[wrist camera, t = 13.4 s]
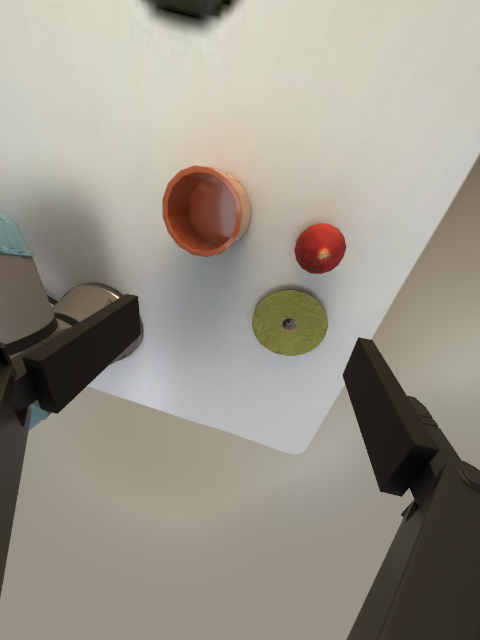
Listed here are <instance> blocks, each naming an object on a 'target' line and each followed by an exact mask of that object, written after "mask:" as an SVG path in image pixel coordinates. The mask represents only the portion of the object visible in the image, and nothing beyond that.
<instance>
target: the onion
mask: <svg viewBox="0 0 480 640" xmlns="http://www.w3.org/2000/svg"><path fill="white" fill-rule="evenodd" d="M345 250H346V244H345V239H344V236H343V235H342V233H341V232H340V231H339V229H337V228H335V227H333V226H332V225H329V224H316V225H313V226H310V227H308V228H307V229H306V230H305V231H304V232H302V233H301V235H300V237H299V238H298V240H297V242H296V246H295V256H296V260H297V262H298V263H299V265H300V266H301V268H302V269H304V270H306V271H308V272H309V273H313V274H322V273H325V272H328V271H331V270H332V269H334V268H335V267H336V266H338V265H339V263H340V261H341V260H342V258H343V257H344V253H345Z"/></svg>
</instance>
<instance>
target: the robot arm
mask: <svg viewBox="0 0 480 640" xmlns="http://www.w3.org/2000/svg"><path fill="white" fill-rule="evenodd" d="M32 256H34V255H33V252H31V251H30V250H29V248H28V246H27V244H26V241H25V239H24V237H23V235H22V233H21V231H20V228H19V226H18V225H17V223H16V222H15V221H14V220H13V219H12V218H11V217H10V216H8V215H7V214H5V213H3V212H0V595H1V590H2V584H3V578H4V572H5V566H6V560H7V554H8V548H9V542H10V537H11V531H12V525H13V519H14V513H15V507H16V501H17V495H18V489H19V484H20V478H21V472H22V466H23V460H24V454H25V448H26V442H27V436H28V431H29V430H31V429H32V428H33V427H34V426H36V425H37V424H38V423H39V422H40V421H42V420H45V419H46V418H47V417H48V416H49V415H50V414H51V413H52V412H53V413H59V412H60V411H61V410H62V409H63V408H64V407H65V406H66V405H67V404H68V403H69V402H70V401H72V400H73V399H74V398H75V397H76V396H77V395H78V394H79V393H80V392H81V391H82V390H83V389H84V388H85V387H86V386H87V385H88V384H89V383H91V382H92V381H93V380H94V379H95V378H96V377H97V376H98V375H99V374H100V373H101V372H102V371H103V370H104V369H105V368H106V367H107V366H108V365H110V364H112V363H114V362H116V361H119V360H122V359H124V358H126V357H128V356H129V355H131V354H132V353H133V352H134V351H135V350H136V349H137V348H138V347H139V345H140V343H141V341H142V337H143V328H142V323H141V320H140V316H139V303H138V296H134V295H129V294H125V295H124V296H123V295H122V294H120V293H119V292H118V291H116V290H114V289H113V288H111V287H108V286H106V285H103V284H99V283H85V284H82V285H79V286H77V287H74V288H72V289H71V290H69V291H68V292H67V293H66V294H65V295H64V296H63V297H62V298H61V300H60V301H59V302H58V301H56V300H55V299H53V298H51V297H50V296H48V295H47V294H46V292H45V289H44V286H43V284H42V281H41V279H40V276H39V273H38V271H37V268H36V266H35V263H34V260H33V258H32ZM50 303H51V304H53V305H54V306H53V307H51V305H50ZM343 378H344V381H345V384H346V388H347V390H348V393H349V397H350V400H351V403H352V406H353V409H354V412H355V415H356V418H357V421H358V424H359V428H360V430H361V433H362V437H363V440H364V443H365V446H366V449H367V452H368V455H369V458H370V461H371V465H372V467H373V471H374V474H375V477H376V480H377V483H378V486H379V489H380V492H385V493H389V494H393V495H397V496H401V497H402V496H403V494H404V493H405V492H406V491H407V490H408V488H410V490H411V492H412V494H413V497H414V500H413V502H412V503H411V504H410V505H409V506H408V507H407V508H406V509H405V511H404V512H403V513H402V514H401V515H402V516H403V517H404V518H403V520H402V523H401V525H400V527H399V529H398V531H397V534H396V535H395V537H394V540H393V542H392V544H391V546H390V548H389V550H388V552H387V555H386V557H385V559H384V561H383V563H382V566H381V567H380V570H379V572H378V574H377V576H376V578H375V580H374V583H373V585H372V587H371V589H370V591H369V593H368V595H367V597H366V599H365V602H364V604H363V606H362V608H361V610H360V612H359V614H358V617H357V619H356V621H355V623H354V625H353V627H352V630H351V631H350V634H349V636H348V638H347V640H480V470H478V469H477V468H476V467H474V466H472V465H470V464H468V463H467V462H464V461H461V459H460V458H459V456H458V455H457V453H456V452H455V450H454V449H453V447H452V446H451V444H450V443H449V441H448V440H447V438H446V437H445V435H444V434H443V432H442V431H441V429H439V428H438V425H437V423H436V422H435V421H434V420H433V419H432V416H431V415H430V413H429V412H428V410H427V409H426V407H425V406H424V405H423V404H422V403H420V402H419V401H418V400H417V399H416V398H415V397H411V396H407V395H406V394H405V392H404V391H403V389H402V387H401V386H400V384H399V382H398V381H397V379H396V378H395V376H394V375H393V373H392V371H391V369H390V368H389V366H388V365H387V363H386V361H385V360H384V358H383V356H382V355H381V353H380V352H379V350H378V348H377V347H376V345H375V344H374V342H373V340H369V339H364V338H359V337H358V340H357V342H356V344H355V347H354V349H353V351H352V354H351V356H350V359H349V361H348V363H347V366H346V368H345V371H344V373H343Z"/></svg>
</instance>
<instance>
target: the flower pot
mask: <svg viewBox="0 0 480 640" xmlns="http://www.w3.org/2000/svg"><path fill="white" fill-rule="evenodd" d="M250 218H251V205H250V200H249V197H248V194H247V192H246V190H245V189H244V187H243V186H242V185H241V183H240V182H239V181H238V180H236V179H235V178H234V177H232V176H230V175H229V174H227V173H224V172H222V171H219V170H216V169H214V168H210V167H203V166H192V167H189V168H187V169H184V170H181V171H179V172H178V173H177V174H176V176H175V177H174V178H173V179H172V180H171V181H170V182H169V183H168V185H167V188H166V191H165V194H164V197H163V219H164V221H165V224H166V227H167V230H168V233H169V234H170V235H171V237H172V238H173V239H174V240H175V242H176V243H177V244H178V246H179V247H181V248H183V249H184V250H186V251H187V252H189V253H191V254H193V255H198V256H204V257H208V256H212V255H217V254H220V253H222V252H223V251H224V250H226V249H227V248H228V247H230V246H231V245H232V244H233V243H235V242H236V241H237V240H239V239H240V238H241V237H242V236H243V234H244V233H245V231H246V230H247V227H248V225H249V222H250Z"/></svg>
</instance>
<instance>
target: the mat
mask: <svg viewBox="0 0 480 640" xmlns="http://www.w3.org/2000/svg"><path fill="white" fill-rule="evenodd" d="M252 320H253V321H252V326H253V331H254V334H255V336H256V338H257V339H258V341H259V342H260V343H261V344H262V345H263V346H264V347H265V348H267V349H268V350H270V351H272V352H274V353H277V354H281V355H288V356H296V355H301V354H304V353H307V352H309V351H311V350H313V349H314V348H315V347H317V346H318V345H319V344H320V343H321V341H322V340H323V338H324V337H325V334H326V332H327V327H328V323H327V322H328V319H327V315H326V312H325V310H324V308H323V306H322V305H321V304H320V303H319V301H317V300H316V299H315V298H313V297H312V296H310V295H309V294H306V293H304V292H301V291H296V290H283V291H278V292H275V293H273V294H271V295H269V296H267V297H266V298H265V299H263V300H262V301H261V302H260V303H259V305H258V306H257V308H256V310H255V312H254V315H253V319H252Z"/></svg>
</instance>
